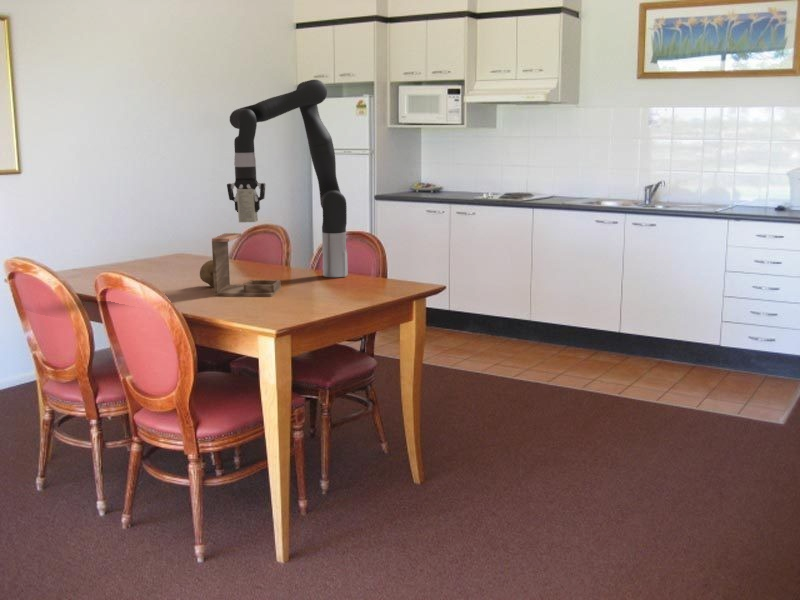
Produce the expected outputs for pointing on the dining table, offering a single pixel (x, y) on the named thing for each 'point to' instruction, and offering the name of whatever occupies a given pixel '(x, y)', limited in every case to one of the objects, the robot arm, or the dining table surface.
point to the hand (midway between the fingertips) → (247, 211)
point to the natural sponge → (207, 273)
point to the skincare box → (246, 205)
